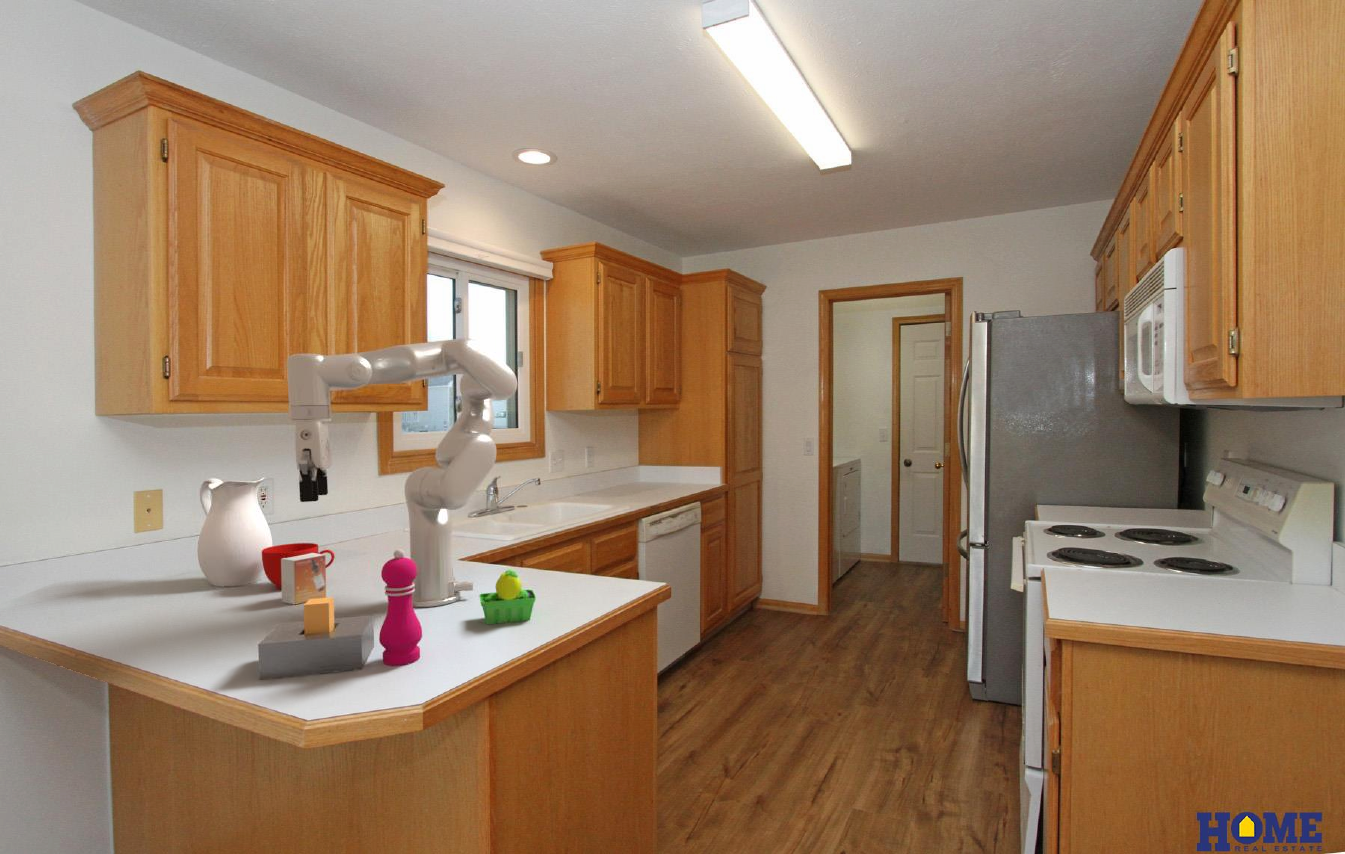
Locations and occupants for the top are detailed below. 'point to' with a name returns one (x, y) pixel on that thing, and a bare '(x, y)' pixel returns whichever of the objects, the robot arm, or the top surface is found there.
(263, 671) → the socket block
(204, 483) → the pitcher
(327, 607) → the wedge peg
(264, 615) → the top surface
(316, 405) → the robot arm
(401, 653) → the pepper mill
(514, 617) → the fruit basket
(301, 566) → the small box
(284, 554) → the ceramic cup
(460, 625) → the top surface
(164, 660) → the top surface
